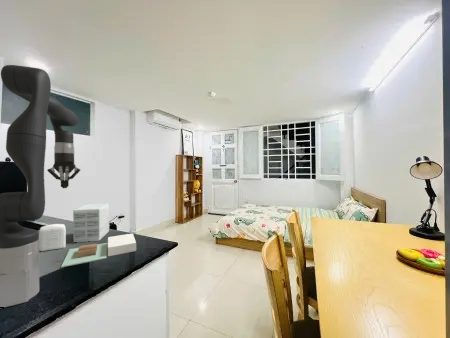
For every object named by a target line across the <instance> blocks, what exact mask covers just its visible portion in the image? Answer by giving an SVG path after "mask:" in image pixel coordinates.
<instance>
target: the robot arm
mask: <svg viewBox="0 0 450 338" xmlns="http://www.w3.org/2000/svg"><path fill="white" fill-rule="evenodd" d="M0 78H1V81H2V84H3V85H4V87H5V88H6V89H7V90H8V91H9V92H11V93H12V94H15V95H16V96H18V97H20V98H22V99H24V100H26V101H27V102H28V105H27V107H26V108H25V110H24V111H23V112H22V113H20V114H19V115H18V116H17V118H15V120H14V121H12V123H10V125H8V128H7V132H6V138H5V139H6V141H5V142H6V143H5V150H6V153H7V155H8V156H9V158H10V159H11V160H12V162H13V163H14V164H15V165H16V166H17V167H18V169H19V170H20V172H21V173H22V175H23V176H24V178H25V180H26V181H25V182H26V188H27V191H16V192H15V191H13V192H3V193H0V307H4V308H7V307H11V306H16V305H20V304H24V303H28V302H29V301H30V299H33V298H34V297H35V296H37V294H39V292H40V251H39V231H38V230H36V229H33V228H28V227H24V226H22V225H20V224H19V222H28V221H31V222H32V221H37V220H40V219H41V218H42V217H43V215H44V213H45V207H46V193H45V191H46V190H45V160H46V149H47V119H48V118H47V117H48V116H49V120H50V123H51V125H52V126H51V127H52V128H53V129H52V130H53V132H54V147H53V148H54V150H53V151H54V153H53V154H54V155H53V156H54V158H53V159H54V161H53V162H54V163H53V165H52V167H51V168H47V172H48V173H49V174H50V175H52V177H54V179H56V180H57V181H58V180H59V181H60V187H61V188H62V189H68V187H69V185H70V183H69V181H70V180H72V179H74V178H75V177H76V176H77V175H78V174H79V173H80V172H81V168H78V167H77V165H76V164H75V146H74V144H75V143H74V133H73V132H71V131H70V130H65V129H63V128H62V127H75V126H77V124H78V122H79V118H78V116H77V114H76V113H75V112H74V111H72V110H71V109H69V108H67V107H65V106H64V105H63V104H62V102H60V101H59V100H57V98H55V97H53V96H51V88H52V87H51V86H52V85H51V79H50V78H51V77H50V76H49V74H48V73H47V71H46V70H44V69H42V68H37V67H34V66H33V67H32V66H25V65H16V64H6V65H4V66H2V68H1V70H0ZM56 171H57V173H58V174H57V173H56ZM73 171H74V172H73ZM72 172H73V173H72ZM71 173H72V175H70V174H71Z"/></svg>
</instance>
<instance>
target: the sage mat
mask: <svg viewBox="0 0 450 338" xmlns="http://www.w3.org/2000/svg"><path fill="white" fill-rule="evenodd" d="M78 249H79V247H74V248H69V249H68V251H67V253H66V255H65V258H64V259H63V262H62V264H61V266H60V267H61V268H65V267H70V266H76V265H80V264H86V263H90V262H96V261H101V260H104V259H107V257H108V242H105V243H97V251H96V255H92V256H87V257H82V258H77V252H78Z"/></svg>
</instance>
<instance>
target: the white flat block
mask: <svg viewBox="0 0 450 338" xmlns="http://www.w3.org/2000/svg"><path fill="white" fill-rule="evenodd" d="M136 251H137V242H136V239H135V235H134V233H133V232H131V233H126V234H120V235H115V236H114V235H113V236H107V257H112V256H116V255H122V254H127V253H132V252H133V253H134V252H136Z"/></svg>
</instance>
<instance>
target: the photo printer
mask: <svg viewBox="0 0 450 338" xmlns="http://www.w3.org/2000/svg"><path fill="white" fill-rule="evenodd" d="M66 228H67V227H66V225H65V224H63V223H53V224H48V225H43V226H41V227H40V228H39V231H38V233H39V252H40V251H41V252H46V251H53V250H59V249H63V248H66V245H67V241H66V240H67V238H66V237H67V231H66V230H67V229H66Z"/></svg>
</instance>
